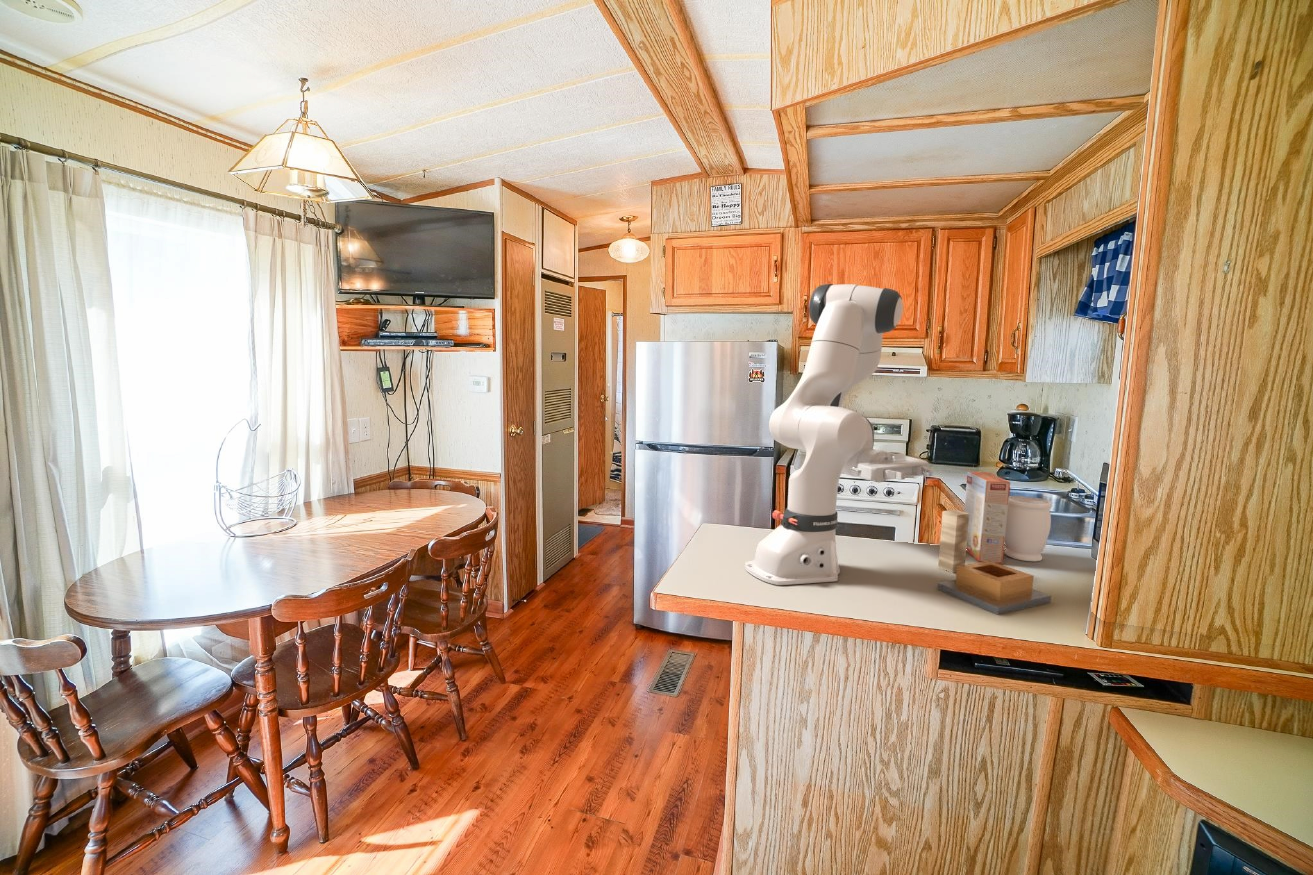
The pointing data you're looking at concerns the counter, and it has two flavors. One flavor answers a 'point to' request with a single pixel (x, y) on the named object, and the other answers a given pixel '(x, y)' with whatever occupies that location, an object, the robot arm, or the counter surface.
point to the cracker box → (986, 515)
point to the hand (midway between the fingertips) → (917, 474)
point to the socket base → (994, 587)
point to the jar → (1027, 527)
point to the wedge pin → (953, 540)
